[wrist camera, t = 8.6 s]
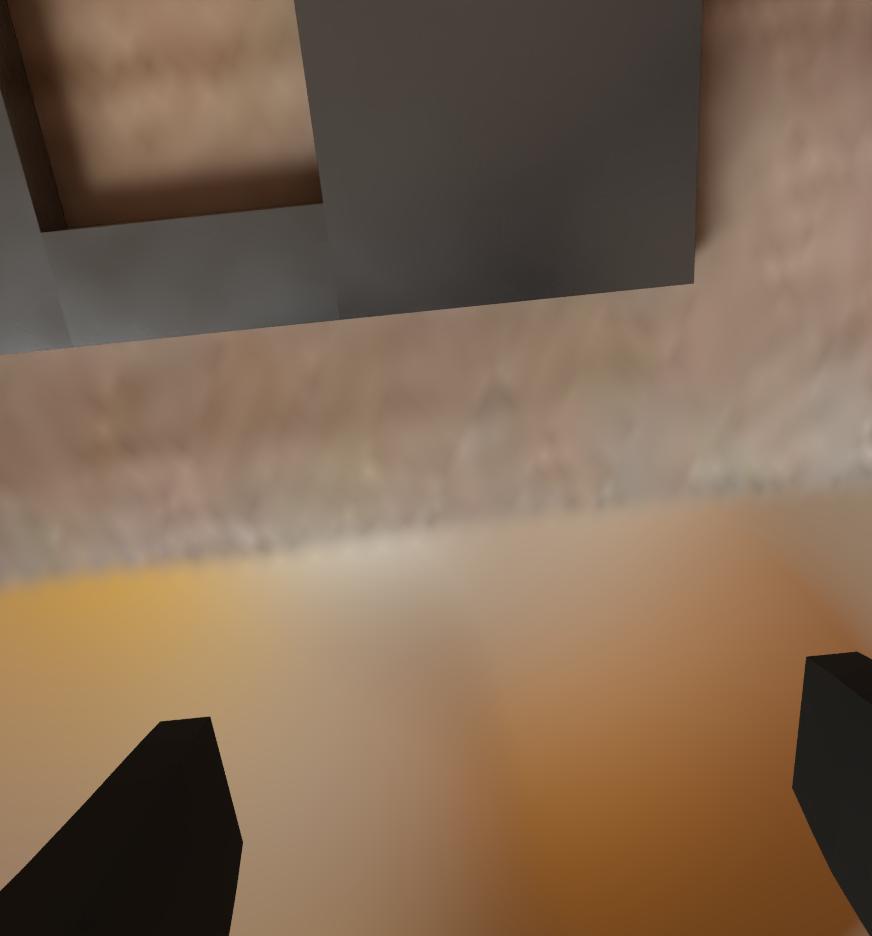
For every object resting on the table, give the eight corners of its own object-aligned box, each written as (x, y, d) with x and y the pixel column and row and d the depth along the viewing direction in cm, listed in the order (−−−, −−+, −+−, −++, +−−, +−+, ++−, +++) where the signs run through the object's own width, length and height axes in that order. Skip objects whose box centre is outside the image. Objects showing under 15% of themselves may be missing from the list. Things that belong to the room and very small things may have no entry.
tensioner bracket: (687, -328, 13) (715, -376, 12) (674, 275, 16) (693, 283, 15) (-484, -203, 13) (-569, -238, 12) (-232, 368, 16) (-278, 383, 15)
